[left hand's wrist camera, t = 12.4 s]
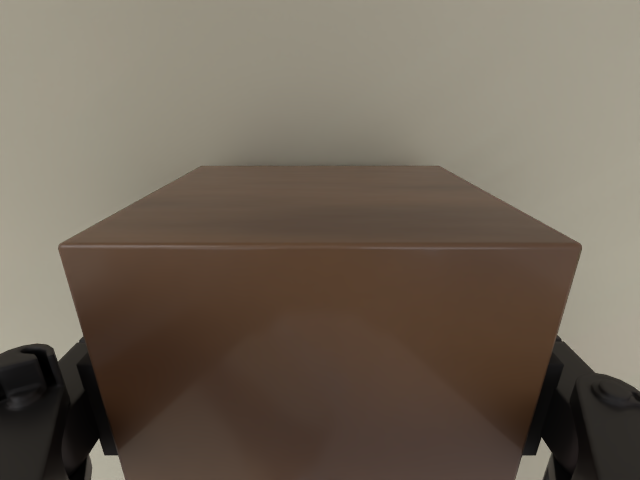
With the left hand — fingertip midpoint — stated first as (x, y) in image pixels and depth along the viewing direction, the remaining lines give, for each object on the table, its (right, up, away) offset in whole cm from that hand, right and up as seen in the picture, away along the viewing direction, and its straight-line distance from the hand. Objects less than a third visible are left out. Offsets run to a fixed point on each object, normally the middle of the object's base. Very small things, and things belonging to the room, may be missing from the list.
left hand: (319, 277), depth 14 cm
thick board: (0, -21, +9) cm, 23 cm away
